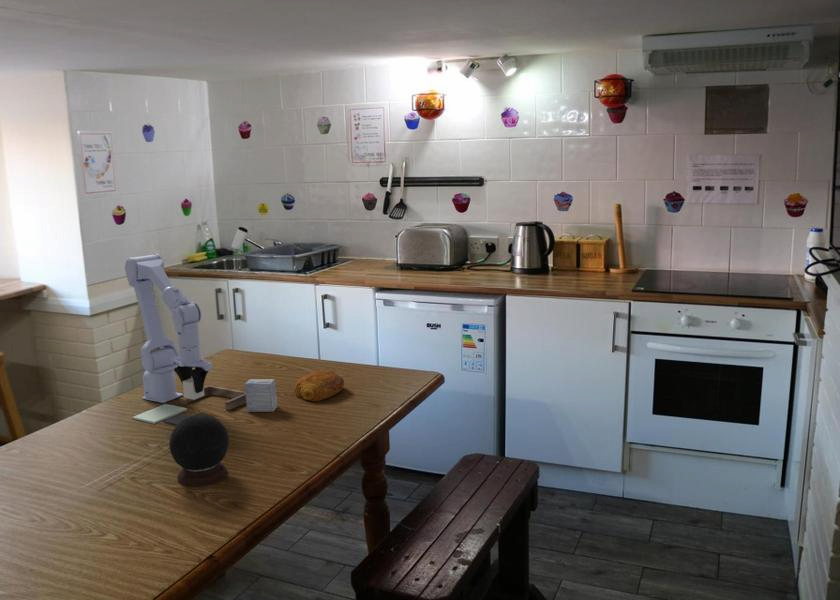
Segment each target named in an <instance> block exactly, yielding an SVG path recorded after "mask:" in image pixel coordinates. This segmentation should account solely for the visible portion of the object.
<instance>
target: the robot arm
mask: <svg viewBox="0 0 840 600" xmlns="http://www.w3.org/2000/svg"><path fill="white" fill-rule="evenodd" d="M124 265H125V266H124V270H125V274H126V278H127V282H128V285H129V287H131V288H134V293H135V296H136V301H137V304H138V308H139V312H140V316H141V320H142V324H143V328H144V332H145V335H146V339H147V340H146V341H145V343H144V345H143V346H142V347H141V349H140V355H141V361H140V362H141V364H142V368H143V369H144V372H143V375H142V384H143V385H142V386H143V392H144V393H143V394H144V396H142V399H143V400H147V401H151V402H157V403H161V404H166V403H167V402H170V401H172V400H174V399H176V398H180V397H182V396H184V393H180V392H177V385H176V375H177V377H178V378H179V380H180V383H181V384H182V386H183V381H185V380H187V379H190V378H193V381H194V387H195V391H196V393H199V392H202V391H203V386H204V384H205V380H206V378H207V375H208V372H209V371H211V370H213V364H212V362H211V361H208V360H205V359H203V358H202V355H201V346H200V345H201V343H200V335H199V334H200V333H199V325H198V323H200V322H201V318H202V312H201V309H200V306H199V305H198V303H197V302H194V301H192V300H189V299H188V298H187V296H186V294H184V292H183V291H182V290H181V288H179V287H178V286H176V285H175V286H174V284H173V283H172V282H171V280H170V278H169V277H168V275H167V273H166V272H165V262H164V259H163V257H162V256H161V255H160V254H158V253H154V254H150V255H149V254H148V255H142V256H135V257H134V256H133V257H130V256H129V257H128V258H127V259H126V261H125V264H124ZM153 285H155V287H156V288H157V289H158V290H159V291H160V292H161V293H162V294H161V299H162V301H163V302H164V304H165V305H166V307H167V308H168V309H169V311H170V312H171V319H172V322H173V325H174V329H175V332H177V340H178V349H177V348H176V345H175V342H174V341H173V340H171V339H170V338H168V337H165V333H164V329H163V326H162V320H161V317H160V314H159V311H158V310H159V309H158V306H157V302H156V298H155V294H154V291H153ZM175 374H176V375H175ZM204 387H205V386H204Z"/></svg>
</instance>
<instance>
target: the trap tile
mask: <svg viewBox="0 0 840 600" xmlns="http://www.w3.org/2000/svg"><path fill="white" fill-rule="evenodd" d="M188 416H189V415H185V414H182V413H180V414H177V415H175V416H172V417H170V418H168V419H165V420H163V423H164V424H169V425H173V426H176V425H177V424H178V423H179V422H181V421H182V420H183V419H184V418H186V417H188Z"/></svg>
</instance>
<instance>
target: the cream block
mask: <svg viewBox="0 0 840 600" xmlns="http://www.w3.org/2000/svg"><path fill="white" fill-rule="evenodd" d="M204 387H205V386H203V391H202V392H199V393H196V391H195V387H194V381H193V378H192V377H191V378H190V379H187V380H185V381H183V385H182V389H183V397H184V398H185V399H186V398H188V399H193V400H194V401H196V400H195V399H197V398H199V399H201V398H200V397H202V396H204ZM204 397H205V396H204ZM202 398H203V397H202ZM197 400H198V399H197Z"/></svg>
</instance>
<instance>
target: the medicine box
mask: <svg viewBox="0 0 840 600" xmlns="http://www.w3.org/2000/svg"><path fill="white" fill-rule="evenodd" d="M276 385H277V384H276V379H274V378H273V379H272V378H271V379H270V378H266V379H265V378H264V379H263V378H261V379H259V378H258V379H257V378H256V379H255V378H254V379H252V378H251V379H249V380H247V381H246V383H245V384H244V389H245V390H244V392H245V393H246V403H245V404H246V411H247V412H248V413H252V412H253V413H259V412H261V413H265V412H267V413H269V412H271V413H273V412H274V411H275V410H276V409H277V408H278V399H277V398H278V396H277V389H276V388H277V387H276Z"/></svg>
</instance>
